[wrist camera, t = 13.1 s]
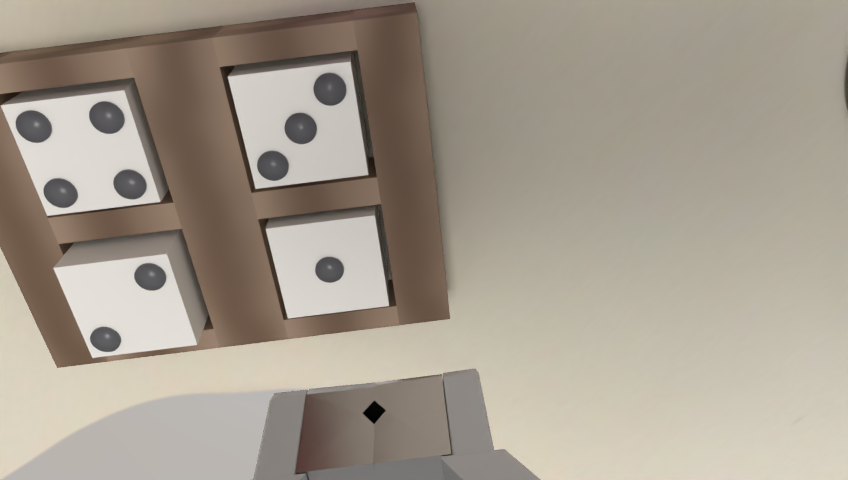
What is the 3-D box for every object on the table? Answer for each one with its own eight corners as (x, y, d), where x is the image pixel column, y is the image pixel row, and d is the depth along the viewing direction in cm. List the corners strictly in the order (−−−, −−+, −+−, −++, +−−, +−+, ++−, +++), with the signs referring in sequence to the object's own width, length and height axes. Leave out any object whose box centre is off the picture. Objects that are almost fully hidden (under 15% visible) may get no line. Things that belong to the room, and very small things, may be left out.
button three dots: (352, 46, 35) (350, 62, 32) (368, 153, 38) (368, 176, 35) (239, 60, 35) (226, 77, 32) (264, 165, 38) (254, 190, 35)
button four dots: (144, 73, 35) (122, 91, 32) (176, 177, 38) (159, 203, 35) (30, 87, 35) (-2, 106, 32) (71, 190, 38) (45, 217, 35)
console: (413, 2, 35) (417, 12, 32) (445, 291, 43) (449, 318, 41) (-47, 58, 35) (-82, 74, 32) (76, 338, 43) (57, 367, 41)
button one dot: (374, 191, 39) (374, 216, 36) (388, 277, 42) (389, 307, 39) (273, 203, 39) (265, 230, 36) (293, 289, 42) (287, 320, 39)
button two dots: (182, 226, 38) (165, 255, 35) (209, 312, 41) (196, 347, 38) (77, 238, 38) (51, 269, 35) (111, 324, 41) (91, 360, 38)
